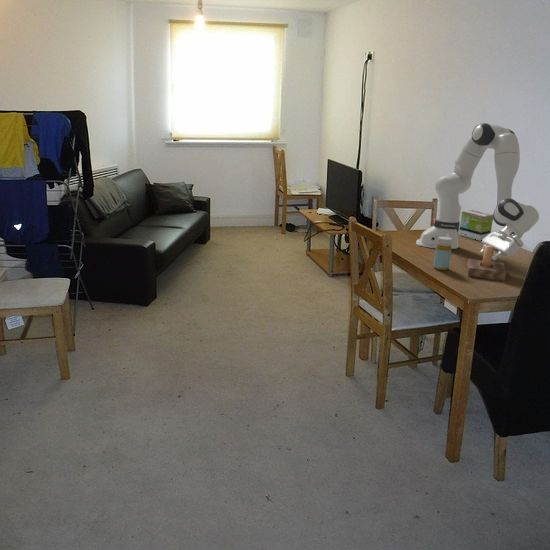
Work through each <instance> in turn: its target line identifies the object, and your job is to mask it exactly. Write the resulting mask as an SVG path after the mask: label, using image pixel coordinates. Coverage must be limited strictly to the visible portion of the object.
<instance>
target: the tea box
mask: <svg viewBox="0 0 550 550" xmlns="http://www.w3.org/2000/svg"><path fill="white" fill-rule="evenodd" d="M493 221H494V220H493V214H490V213H487V212H482V211H478V210H473V209H470V210H465V211H464V210H463V211H462V212H461V215H460V221H459V222H460V226H459V231H458V236H462V237H465V238H468V239H472V240H475V239H476V241H478V240H479V241H478V242H482V241H481V240H482V239H483V238H484V237H486V236H487V235H488V234H490V233H491V232H492V226H493Z"/></svg>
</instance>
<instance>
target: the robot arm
mask: <svg viewBox="0 0 550 550" xmlns="http://www.w3.org/2000/svg"><path fill="white" fill-rule="evenodd" d="M487 149H492V150H494V158H493V159H494V168H495V174H496V175H495V176H496V183H497V190H496V191H497V193H496V194H497V197H496V198H497V200H496V201H497V202H496V207H495V209H494V211H493V214H492V215H493V221H494V223H495V224H497V225H498V226H500V227H502V228H501V229H500V230H496V231H495V230H494V231H491V233H490V234H488V235H487V236H486V237H484V238H483V239H482V241H481V243H482V248H481V250H479V253H480V254H481V255H484V249H485V246H486V245H489V246H493V247H494V252H497V253H496V254H493V256H492V257H491V258H492V261H493V262H496V260H498V259H499V258H502V257H503V256H505V257H506V258H509V257H512V256H513V255H514V254H515V253H517V252H518V251H519V250H520V248H522V247H523V246H524V245H525V243H524V242H523V240H522V239H521V238H523V236H524V235H525V234H526V233H527V232H529V231H530V230H531V229H532V228H533V227H534V226H535V225H536V224H537V223H538V221H539V219H540V214H539V212H538V210H537V209H536V208H535V207H534V206H532V205H527V204H523V203H521V202H518V201H516V200H515V199H513V198H512V188H513V184H514V180H515V178H516V175H517V173H518V171H519V168H520V160H521V156H520V155H521V153H520V144H519V139H518V137H517V135H516V134H515V132H514V131H513V130H511V129H509V128H506V127H504V126H500V125H495V124H489V123H486V122H485V123H483V122H482V123H479V124H477V125H476V126H474V128H473V130H472V132H471V134H470V135H469V137H468V138H467V139H466V140H465V142H464V144H463V145H462V147H461V149H460V151H459V152H458V154H457V156H456V158H455V159H454V168H453V171H452V172H451V174H447V175H443V176H441V177H440V178H438V179H437V181H436V183H435V186H434V187H435V191H436V193H437V194H438V204H439V207H438V216H437V218H433V219H432V221H433V223H432V224H433V225H431V226H430V227H429V228H427V229H426V230H424V231H423V232H422V233H421V236H420V238H418V239H416V242H415V244H416V245H417V246H418V247H424V248H431V249H436V246H437V243H438V237H440V236H445V237H450V238H452V242H451V250H455V249H458V248H459V240H458V239H459V238H458V237H459V228H460V222H461V221H460V219H461V209H462V207H461V205H460V201H459V195H461V194H464V193H466V192H467V191H468V190H469V189H470V188H471V186H472V178H473V175H474V172H475V170H476V168H477V167H478V165H479V163H480V161H481V159H482V158H483V156H484V155H485V152H486V150H487Z"/></svg>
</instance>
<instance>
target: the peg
mask: <svg viewBox="0 0 550 550" xmlns="http://www.w3.org/2000/svg"><path fill="white" fill-rule="evenodd" d="M494 252H495V251H494V247H493V246H489V245H486V246H485V249H484V254H483V256H482V257H483V258H482V260H483V261H482V266H483V267H491V263H492V261H493V260H492V258H491V257H492V256H493V255H494Z"/></svg>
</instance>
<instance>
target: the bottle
mask: <svg viewBox="0 0 550 550" xmlns="http://www.w3.org/2000/svg"><path fill="white" fill-rule="evenodd" d="M451 242H452V238H450V237H445V236H440V237H438V243H437V246H436V248H435V251H434V259H433V266H432V267H433V269H435V270H437V271H442V270H444V271H448V270H449V268H450V262H451V254H452V249H451Z"/></svg>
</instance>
